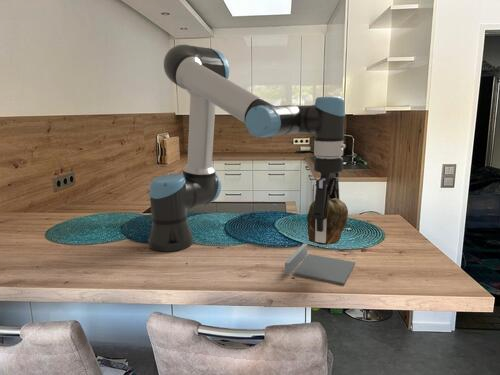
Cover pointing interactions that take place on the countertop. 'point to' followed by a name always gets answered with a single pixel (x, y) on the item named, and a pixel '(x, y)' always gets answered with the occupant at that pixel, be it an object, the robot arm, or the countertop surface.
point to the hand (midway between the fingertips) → (326, 235)
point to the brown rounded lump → (329, 221)
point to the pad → (325, 269)
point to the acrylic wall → (295, 259)
